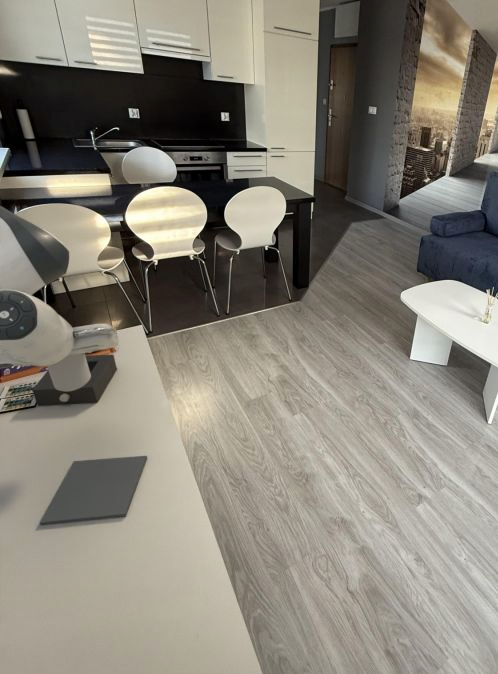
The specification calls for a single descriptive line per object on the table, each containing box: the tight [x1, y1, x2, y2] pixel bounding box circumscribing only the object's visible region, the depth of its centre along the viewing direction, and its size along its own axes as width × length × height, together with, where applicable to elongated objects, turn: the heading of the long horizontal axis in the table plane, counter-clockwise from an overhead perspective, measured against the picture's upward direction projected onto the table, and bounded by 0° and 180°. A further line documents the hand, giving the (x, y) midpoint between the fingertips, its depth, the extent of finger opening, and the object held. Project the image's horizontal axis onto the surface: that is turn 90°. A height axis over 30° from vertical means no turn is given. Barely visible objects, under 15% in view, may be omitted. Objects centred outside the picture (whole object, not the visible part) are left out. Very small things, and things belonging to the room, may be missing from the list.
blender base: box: [31, 354, 118, 407], centre depth 100 cm, size 13×14×5 cm
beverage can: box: [46, 353, 91, 391], centre depth 80 cm, size 6×6×12 cm
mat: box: [39, 455, 148, 526], centre depth 77 cm, size 14×13×1 cm
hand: (64, 353), depth 80 cm, fingers closed on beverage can, 6 cm apart
